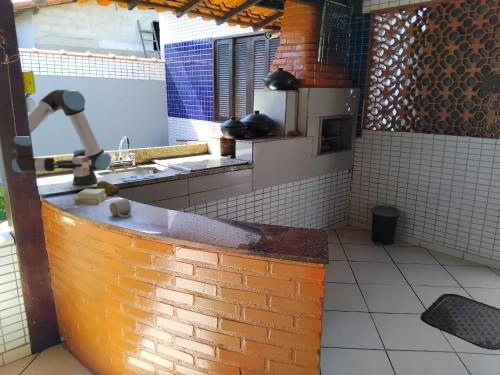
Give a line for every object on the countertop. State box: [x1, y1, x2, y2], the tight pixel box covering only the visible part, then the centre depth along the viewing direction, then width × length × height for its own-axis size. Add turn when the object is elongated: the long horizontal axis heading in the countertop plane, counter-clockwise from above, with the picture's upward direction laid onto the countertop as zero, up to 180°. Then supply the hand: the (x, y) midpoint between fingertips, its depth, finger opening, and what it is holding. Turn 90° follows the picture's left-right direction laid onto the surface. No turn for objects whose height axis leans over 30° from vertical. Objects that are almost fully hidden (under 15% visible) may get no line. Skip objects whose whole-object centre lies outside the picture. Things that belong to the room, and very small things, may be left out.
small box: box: [71, 156, 90, 177], centre depth 204 cm, size 8×6×10 cm
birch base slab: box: [74, 194, 108, 205], centre depth 206 cm, size 13×13×3 cm
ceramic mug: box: [109, 198, 132, 219], centre depth 180 cm, size 11×8×8 cm
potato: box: [96, 180, 120, 196], centre depth 219 cm, size 8×13×8 cm, turn 60°
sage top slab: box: [77, 188, 105, 199], centre depth 205 cm, size 11×11×3 cm
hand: (89, 163), depth 205 cm, fingers closed on small box, 9 cm apart
